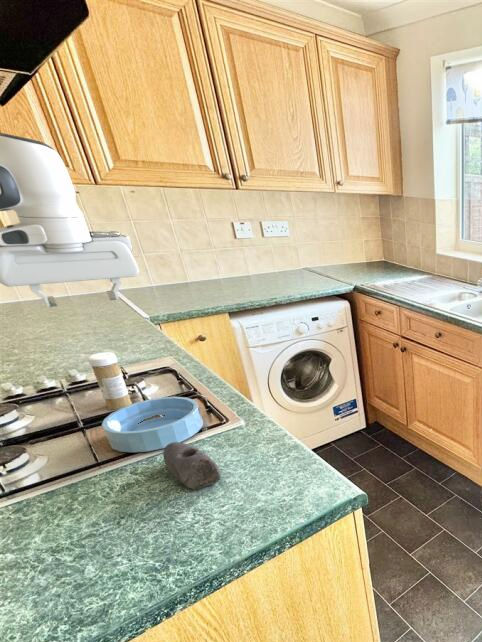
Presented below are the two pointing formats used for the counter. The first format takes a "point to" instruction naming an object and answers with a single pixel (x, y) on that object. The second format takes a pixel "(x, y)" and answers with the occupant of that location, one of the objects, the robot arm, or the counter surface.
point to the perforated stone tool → (191, 465)
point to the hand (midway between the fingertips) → (84, 302)
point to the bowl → (152, 424)
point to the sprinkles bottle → (110, 380)
